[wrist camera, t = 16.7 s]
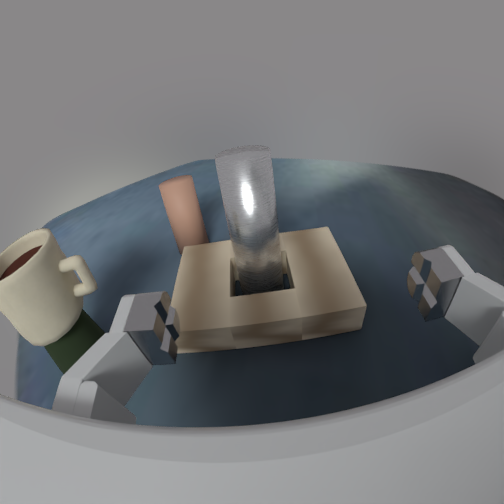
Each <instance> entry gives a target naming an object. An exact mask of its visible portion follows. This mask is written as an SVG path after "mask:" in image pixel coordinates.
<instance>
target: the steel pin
mask: <svg viewBox="0 0 504 504" xmlns="http://www.w3.org/2000/svg"><path fill="white" fill-rule="evenodd" d="M215 162H216V168H217V173H218V178H219V183H220V188H221V193H222V198H223V203H224V208H225V213H226V218H227V223H228V228H229V233H230V238H231V243H232V248H233V252H234V257H235V262H236V267H237V272H238V276H239V281H240V286H241V290H242V295H250V294H258V293H265V292H273V291H280V290H284V287H283V274H282V262H281V251H280V239H279V229H278V218H277V208H276V198H275V188H274V179H273V170H272V161H271V153H270V149H269V148H268V147H265V146H242V147H237V148H232V149H228V150H225V151H223V152H221V153H219V154H218V155H216V156H215Z"/></svg>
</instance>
